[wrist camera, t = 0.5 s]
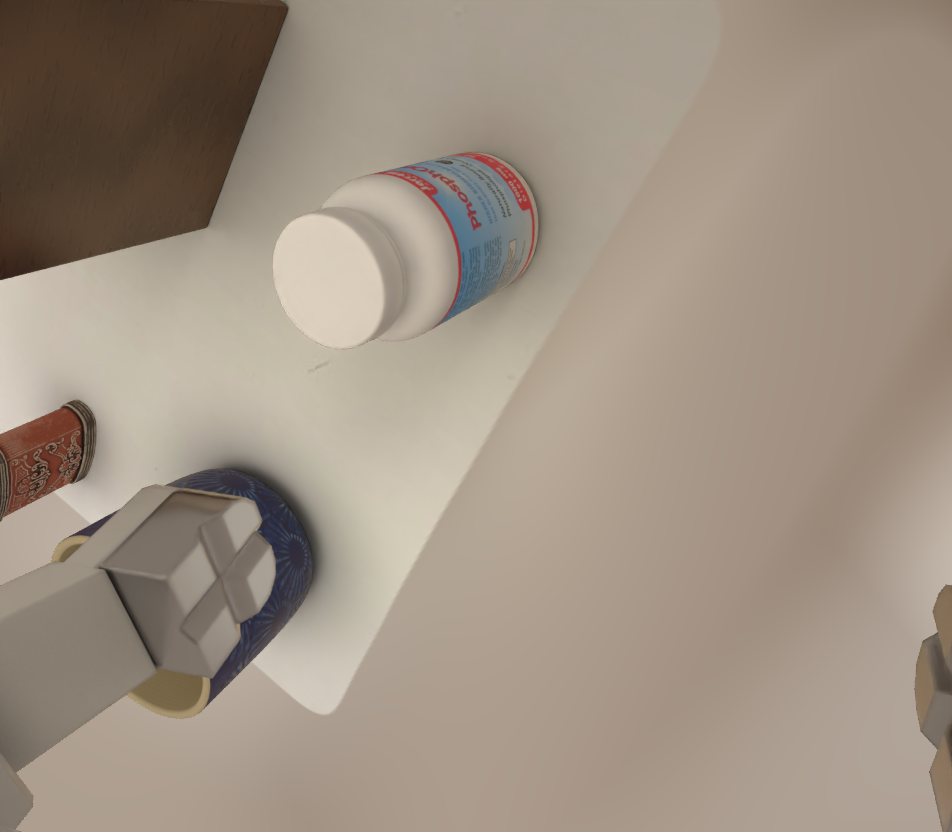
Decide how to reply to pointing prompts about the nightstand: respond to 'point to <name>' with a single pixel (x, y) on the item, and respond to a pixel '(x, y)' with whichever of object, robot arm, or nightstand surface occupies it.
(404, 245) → the pill bottle
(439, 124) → the nightstand surface
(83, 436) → the lighter
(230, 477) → the planter
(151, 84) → the walnut riser
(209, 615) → the robot arm
